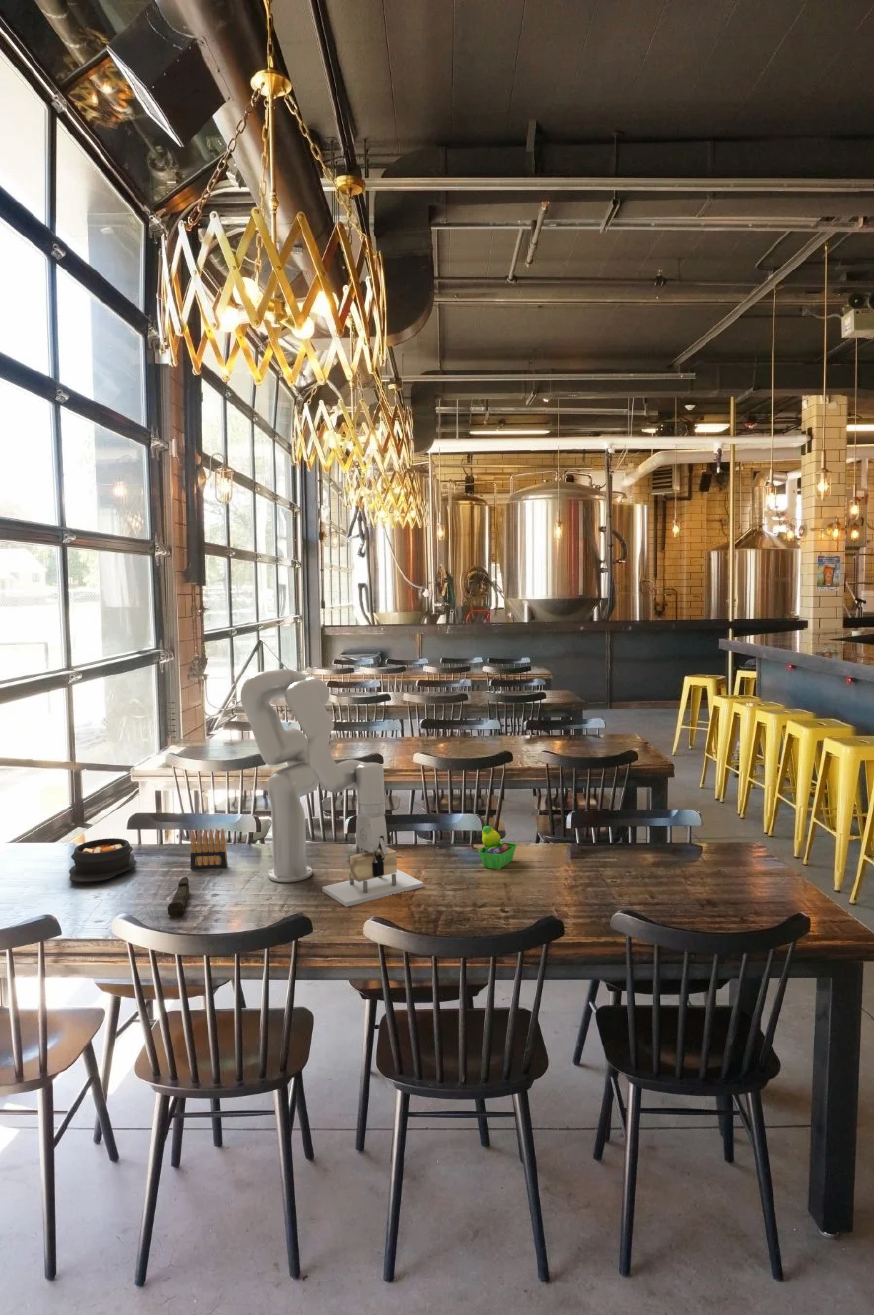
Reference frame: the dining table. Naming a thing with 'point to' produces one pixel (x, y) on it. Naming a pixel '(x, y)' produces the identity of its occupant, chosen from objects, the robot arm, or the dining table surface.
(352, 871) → the block
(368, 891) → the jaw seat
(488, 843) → the fruit basket
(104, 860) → the casserole
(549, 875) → the dining table surface
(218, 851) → the ammunition clip
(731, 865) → the dining table surface
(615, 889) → the dining table surface
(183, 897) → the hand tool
